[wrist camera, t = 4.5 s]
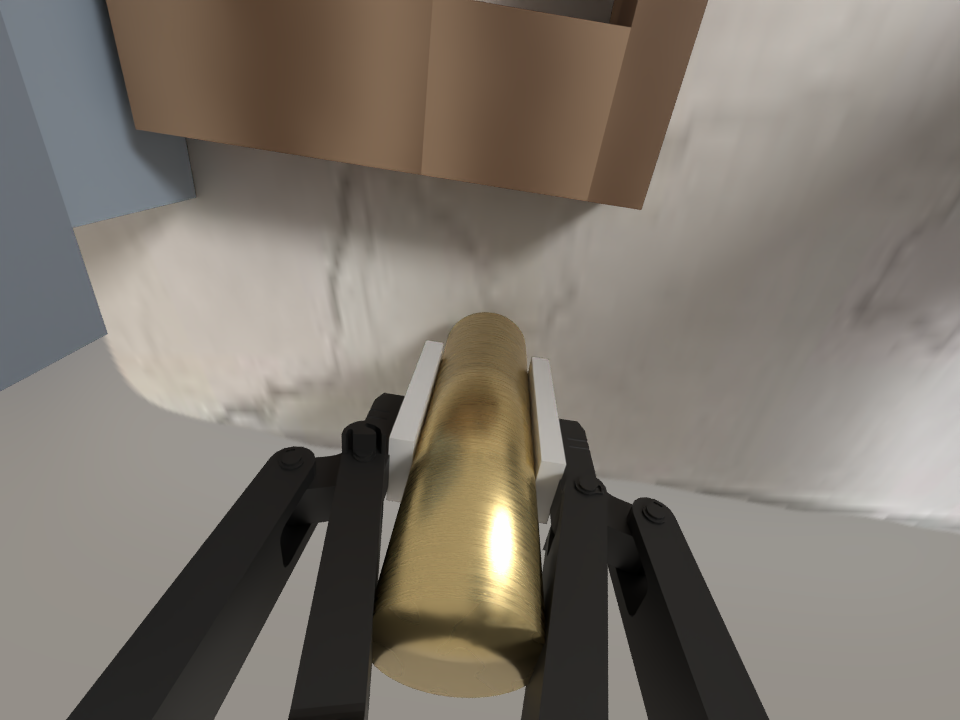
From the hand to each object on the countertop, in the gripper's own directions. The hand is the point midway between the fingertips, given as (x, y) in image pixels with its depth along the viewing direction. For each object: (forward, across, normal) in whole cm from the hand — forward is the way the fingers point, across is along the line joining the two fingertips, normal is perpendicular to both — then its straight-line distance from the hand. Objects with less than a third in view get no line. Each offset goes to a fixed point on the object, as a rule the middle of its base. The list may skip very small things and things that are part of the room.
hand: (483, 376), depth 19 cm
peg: (+3, 0, 0) cm, 3 cm away
